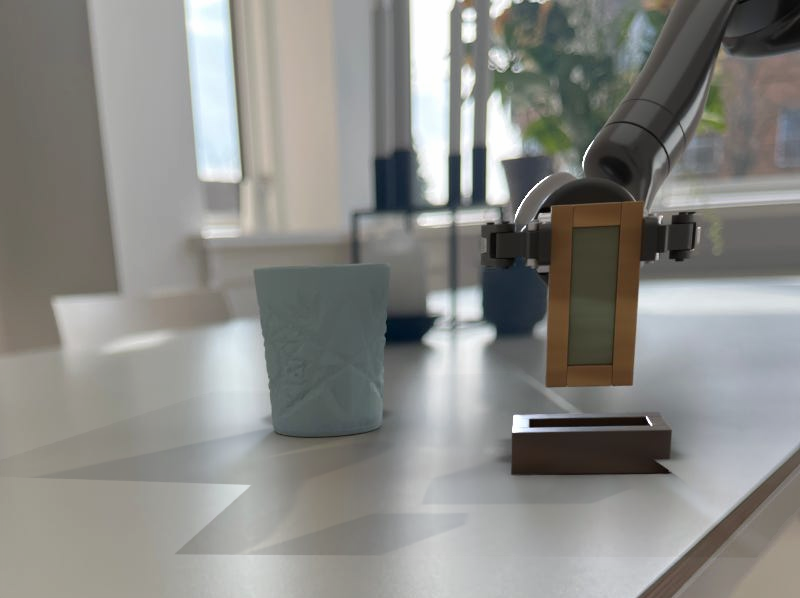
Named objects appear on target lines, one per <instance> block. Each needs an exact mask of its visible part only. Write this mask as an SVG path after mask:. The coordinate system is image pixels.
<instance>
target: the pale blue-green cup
mask: <svg viewBox="0 0 800 598" xmlns="http://www.w3.org/2000/svg"><path fill="white" fill-rule="evenodd" d="M252 272H253V280H254V287H255V293H256V300H257V305H258V308H259V309H258V310H259V321H260V329H261V335H262V337H263V338H262V339H263V347H264V360H265V368H266V373H267V378H268V380H269V381H268V390H269V400H270V407H271V408H270V409H271V419H272V420H271V421H272V427H273V430H274V432H275V433H276V434H278V435H283V436H289V437H290V436H291V437H299V438H300V437H301V438H302V437H303V438H304V437H306V438H323V437H325V438H326V437H338V436H349V435H356V434H362V433H367V432H370V431H371V432H372V431H374V430H377V429H379V428H381V425H382V423H383V411H384V410H383V409H384V408H383V407H384V406H383V405H384V404H383V397H384V389H385V387H384V385H385V379H384V374H385V367H384V364H385V357H386V356H385V346H386V342H387V341H386V339H387V338H386V336H385V334H386V333H387V323H386V321H387V320H388V311H387V307H388V304H389V303H388V302H389V293H390V280H391V279H390V278H391V263H390V262H367V263H366V262H364V263H362V262H361V263H342V264H341V263H340V264H339V263H337V264H317V265H292V266H291V265H290V266H272V267H271V266H269V267H257V268H253V271H252Z"/></svg>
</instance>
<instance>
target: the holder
mask: <svg viewBox="0 0 800 598" xmlns="http://www.w3.org/2000/svg"><path fill="white" fill-rule="evenodd" d="M511 429H512V430H511V458H510V459H511V461H510V463H511V466H510V467H511V469H510V474H511V475H584V474H585V475H589V474H591V475H592V474H593V475H594V474H595V475H597V474H599V475H600V474H601V475H602V474H668V473H670V470H669V468H667V467H665V466H664V465H662V464H661V463H660V462H658V461H657V460H670V459H671V450H672V449H671V448H672V439H673V438H672V435H673V430H672V428H671V426H670V425H669V424H668V423H667V422H666V420H665V419H664V417H663V415H662V414H661V413H660V412H659V411H653V412H651V411H650V412H645V411H644V412H603V413H599V412H598V413H597V412H595V413H553V414H552V413H551V414H514V415H513V419H512V427H511Z"/></svg>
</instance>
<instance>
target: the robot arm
mask: <svg viewBox="0 0 800 598" xmlns="http://www.w3.org/2000/svg"><path fill="white" fill-rule="evenodd" d="M720 50H722V51H723V53H725V55H727V56H728V57H729V58H732V59H734V60H740V61H741V60H742V61H755V60H757V61H758V60H764V59H770V58H775V57H781V56H786V55H791V54H795V53H799V52H800V0H675V1H674V4H673V6H672V8H671V10H670V12H669V13H668V16H667V18H666V20H665V22H664V24H663V27H662V29H661V31H660V34H659V36H658V37H657V40H656V42H655V44H654V46H653V48H652V50H651V52H650V54H649V56H648V58H647V60H646V62H645V64H644V66H643V67H642V68H641V70H640V72H639V74H638V76H637V77H636V78H635V79H636V80H635V81H634V82H633V84H632V86H631V87H630V89H629V90H628V91H627V93H626V95H624V97H623V98H622V100H621V102H619V104H618V106H617V107H616V108H615V110H614V111H613V113H612V114H611V115H610V116H609V118H608V119H607V121H606V122H605V124H604V125H603V126H602V128H601V129H600V131H598V133H597V135H596V136H595V137H594V138H593V141H592V142H591V143H590V145H589V146H588V148H587V150H586V151H585V153H584V156H583V161H582V172H583V176H584V177H583V178H577V177H576V176H574V175H573V174H571V173H569V172H565V171H561V172H560V171H559V172H555V173H553V174H550V175H549V176H546V177H545V178H544V179H542V180H541V181H539V183H537V184H536V185H535V186H534V187H533V188H532V189H531V190H530V191H529V192H528V193H527V195H525V198H524V199H523V200H522V201H521V204H520V206H519V207H518V209H517V211H516V214H515V217H514V220H513V223H511V220H504V221H501V223H498V224H497V223H496V224H495V222H494V221H491V222H490V221H489V222H488V221H487V222H486V224H482V225H480V266H485V267H486V268H500V269H501V270H510V269H511V267H516V264H517V263H516V260H517V259H518V258H519V259H520V258H522V259H524V266H525V267H530V269H533V270H534V272H535V274H536V275H537V277H538V278H539V279H540V281H541V282H542V283H543V285H545V286H546V287H548V282H549V266H551V238H552V223H550V220H551V206H556V205H575V204H593V203H611V202H630V201H644V215H643V220H642V236H641V253H640V261H641V263H640V269H643V268H644V266H645V264H654V262H655V261H660V260H661V254H664V253H668V260H674V262H677V263H678V262H680V263H681V262H685V260H686V259H687V260H688V259H693V258H695V257H698V256H699V255H700V242H701V230H702V227H701V226H702V220H703V219H702V218H703V213H697V211H695V210H694V211H678V212H677V214H672V215H671V221H670V222H671V223H670V224H663V218H664V216H663V215H657V213H656V212H652V213H650V210H651V208H652V205H653V202H654V200H655V198H656V196H657V193H658V192H659V190H660V188H661V187H662V185H663V184H664V182H665V181H666V179H667V178H668V176H669V175H670V173H671V172H672V171H673V169H674V168H675V167H676V165H677V164H678V163H679V161H680V159H681V158H682V157H683V155H684V154H685V152H686V151H687V149H688V148H689V146H690V144H691V142H692V141H693V139H694V137H695V135H696V133H697V131H698V128H699V126H700V123H701V121H702V119H703V116H704V112H705V109H706V106H707V102H708V98H709V94H710V89H711V86H712V81H713V78H714V74H715V70H716V65H717V60H718V57H719V53H720ZM516 258H517V259H516Z"/></svg>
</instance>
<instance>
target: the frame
mask: <svg viewBox="0 0 800 598" xmlns="http://www.w3.org/2000/svg"><path fill="white" fill-rule="evenodd" d="M643 215H644V201H630V202H611V203H593V204H575V205H556V206H551V220H550V223H552V238H551V266H549V282H548V286H547V314H546V315H547V316H546V317H547V318H546V319H547V320H546V346H545V347H546V348H545V381H544V382H545V388H583V387H584V388H586V387H590V388H591V387H632V386H633V385H634V375H635V360H636V359H635V356H636V340H637V325H638V324H637V323H638V310H639V309H638V308H639V294H640V277H641V276H640V275H641V268H640V263H641V261H640V253H641V236H642V220H643Z"/></svg>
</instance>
